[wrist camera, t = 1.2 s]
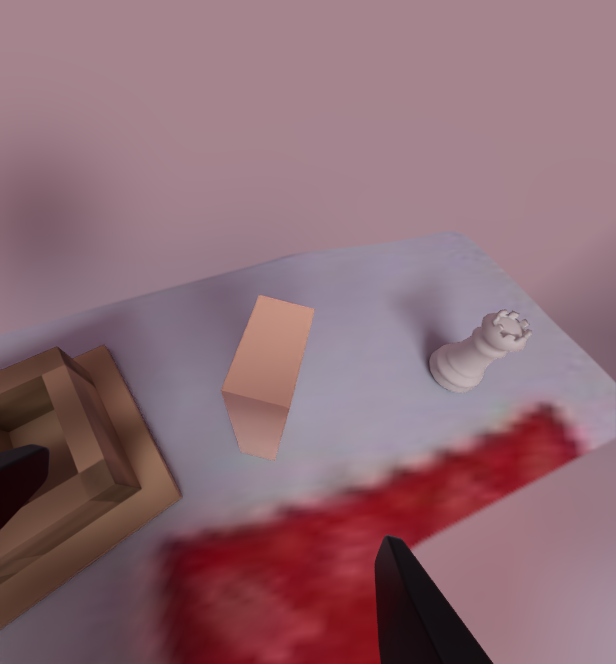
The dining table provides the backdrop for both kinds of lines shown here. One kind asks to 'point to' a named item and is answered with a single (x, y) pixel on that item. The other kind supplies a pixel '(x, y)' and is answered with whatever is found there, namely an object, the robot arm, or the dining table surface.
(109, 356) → the wooden compartment tray
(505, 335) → the rook chess piece
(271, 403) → the tan rectangular block
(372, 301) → the dining table surface
